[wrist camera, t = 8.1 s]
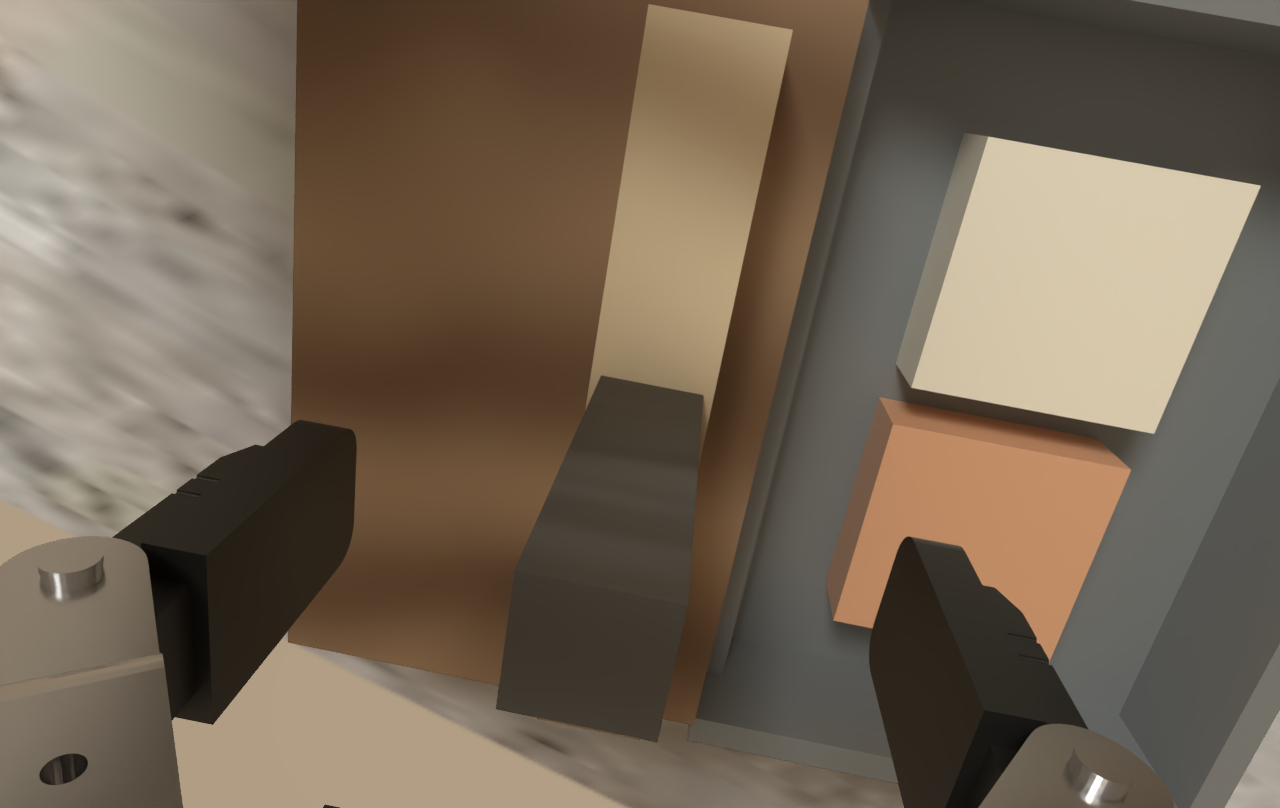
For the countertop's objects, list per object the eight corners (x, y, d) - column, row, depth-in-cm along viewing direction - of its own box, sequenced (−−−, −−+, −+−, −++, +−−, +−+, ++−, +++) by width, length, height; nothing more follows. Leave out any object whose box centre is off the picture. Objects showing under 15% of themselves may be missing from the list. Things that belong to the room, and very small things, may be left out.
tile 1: (1131, 469, 21) (1097, 438, 22) (893, 424, 21) (879, 397, 23) (1048, 663, 23) (1024, 620, 25) (833, 620, 23) (825, 581, 25)
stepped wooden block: (397, -83, 20) (299, -137, 16) (841, -5, 20) (878, -36, 15) (364, 546, 27) (288, 642, 22) (699, 614, 26) (693, 725, 22)
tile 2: (1260, 185, 18) (1210, 177, 20) (988, 136, 18) (963, 132, 20) (1153, 434, 20) (1117, 405, 22) (911, 387, 20) (895, 363, 22)
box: (852, -52, 20) (887, -92, 15) (1452, 52, 19) (1658, 40, 15) (693, 639, 27) (687, 740, 22) (1126, 726, 26) (1202, 846, 22)
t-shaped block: (659, 18, 16) (576, -83, 7) (783, 39, 16) (856, -33, 7) (557, 650, 21) (437, 1046, 12) (649, 669, 21) (594, 1080, 12)
